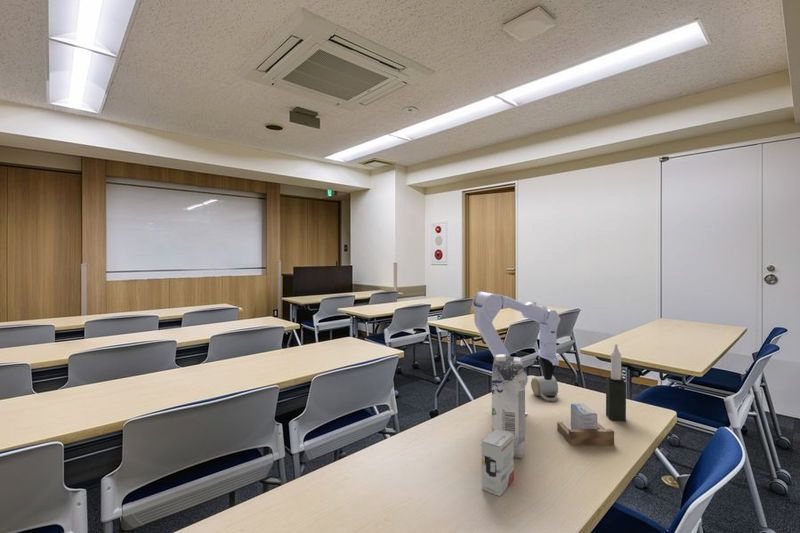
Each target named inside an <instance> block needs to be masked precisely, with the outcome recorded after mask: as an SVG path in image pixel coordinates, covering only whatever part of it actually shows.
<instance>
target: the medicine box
mask: <svg viewBox="0 0 800 533" xmlns="http://www.w3.org/2000/svg"><path fill="white" fill-rule="evenodd" d="M597 422H598V413H597V412H596V411H595V410H593V409H592V407H589V406H588V405H587V404H585V403H584V402H583V403H581V402H577V403H571V404H570V429H598V427H597Z"/></svg>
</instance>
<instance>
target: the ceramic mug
mask: <svg viewBox="0 0 800 533" xmlns="http://www.w3.org/2000/svg"><path fill="white" fill-rule="evenodd" d="M530 385H531V386H530V387H531V391H532V393H533V394H534V395H535V396H537V397H541V398H542V399H543V400H545V401H547V402H555V401H556V400H557V399H558V393H559V385H558V381H557V379H556V377H555V376H554V375H553V376H552V379H551V380H545V379H544V375H543V376H535V377H533V378H532V379H531V382H530ZM553 396H554V397H553ZM552 397H553V398H552Z"/></svg>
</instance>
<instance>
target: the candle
mask: <svg viewBox="0 0 800 533" xmlns="http://www.w3.org/2000/svg"><path fill="white" fill-rule="evenodd" d="M618 346H619V345H618V344H617V343H616V344H614V348H613V350H612V352H611V353H610V376H608V377H606V378H605V416H607V418H608V419H609V420H610V421H614V422H615V421H617V422H626V421H627V382H626V381H625V378H623V377H622V354H621V352H620V351H619V348H618Z"/></svg>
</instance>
